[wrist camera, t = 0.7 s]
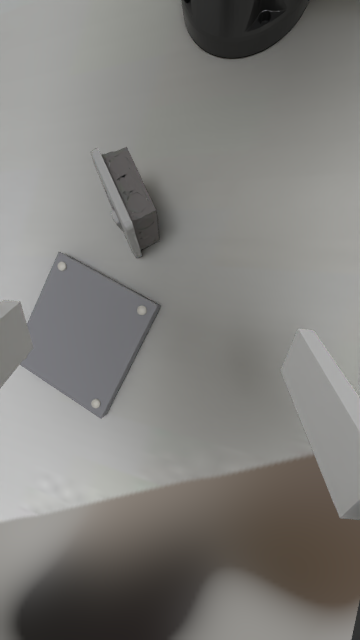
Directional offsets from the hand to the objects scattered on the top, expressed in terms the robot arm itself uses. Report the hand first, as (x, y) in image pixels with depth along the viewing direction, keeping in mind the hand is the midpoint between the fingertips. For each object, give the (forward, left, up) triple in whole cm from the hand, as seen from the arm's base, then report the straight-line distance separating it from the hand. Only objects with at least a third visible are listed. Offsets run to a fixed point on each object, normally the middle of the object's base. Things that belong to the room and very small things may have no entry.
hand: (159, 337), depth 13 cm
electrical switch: (-8, -14, -21) cm, 27 cm away
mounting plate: (+9, -14, -20) cm, 27 cm away
